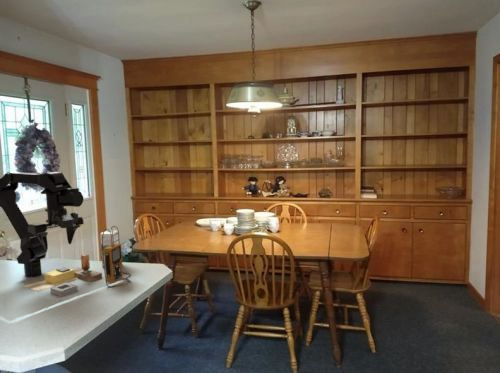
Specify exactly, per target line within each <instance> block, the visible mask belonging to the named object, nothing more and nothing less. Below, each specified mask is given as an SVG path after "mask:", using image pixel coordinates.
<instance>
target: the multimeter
mask: <svg viewBox="0 0 500 373" xmlns="http://www.w3.org/2000/svg"><path fill="white" fill-rule="evenodd" d="M113 228H116V231H118V239H119V240H120V231H119V229H118V227H117V226H115V225H113V226H111V230H110V229H104V231H102V232H103V234H104V232H105V231H112V235H111V245H110V246H108V247H106V248H104V253H103V261H104V256H105V263H104V267H103V269H104V272H105V273H104V278H105V279H104V280H105V285H106V287H108V288H114V287H120V286H123V285H124V284H128V282H129V283H132V280H130V279H129V278H130V277H131V275H132V274H131V273H128V272H124V271H123V253H122V252H123V251H122V243H120V241H119V244H114V238H112V237H113V231H114V230H113ZM110 233H111V232H110ZM112 240H113V241H112ZM102 250H103V236H102ZM124 274H126V275H128V276H127V277H125V279H126V280H127V281H128V282H122V283H119V284H115V281H116V280H117V279H119V278H123V277H124ZM107 282H111V283H112V284H115V285H111V286H110V285H109V284H108V283H107Z"/></svg>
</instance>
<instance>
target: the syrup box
mask: <svg viewBox="0 0 500 373" xmlns="http://www.w3.org/2000/svg"><path fill="white" fill-rule="evenodd" d="M104 231H105V230H104ZM104 231H102V232H101V233H99V237H100V251H101V261H102V262H101V263H102V268H104V263H105V256H104V261H103V253H104V248H106V247H108V246H110V245H111V235H112V231H113V237H112V238H114V244H119V242H120V238H119V239H118V231H119V230H110V231H108V230H106V231H105V232H104ZM103 232H104V234H103ZM110 232H111V233H110ZM102 236H103V250H102ZM112 241H113V240H112Z"/></svg>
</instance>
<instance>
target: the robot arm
mask: <svg viewBox="0 0 500 373" xmlns="http://www.w3.org/2000/svg"><path fill="white" fill-rule="evenodd" d="M19 184H29V185H38V186H39V187H41V188H44V189H43V190H41V192H40V194H41V195H45V198H46V199H45V200H46V208H45V209H44V211H45V212H46V213H47V215H46V216H47V219H45V222H46V223H44V222H33V223H29V222H28V221H27V219H26V217H25V216H24V214H23V212H22V211H21V209H20V207H19V206H18V203H17V193H16V190H18V188H19ZM83 202H84V195H83V193H82V192H81V191H80V188H78V187H72V186H71V184H70V183H69V181H68V180H67V179H66V177H65V175H64V174H63V172H61V171H53V172H45V173H32V172H19V171H10V172H9V171H8V172H6V173H4V175H2V177H1V178H0V208H1V209H2V210H3V212H4V214H5V215H6V217H7V219H8V221H9V222H10V224H11V226H12V227H13V229H14V231H15V233H16V234H17V236H18V238H19V239H20V250H21V253H20V254H18V256H17V257H16V260H17V263H18V264H19V265H23V269H24V270H23V271H24V277H26V278H36V277H40V276H42V262H41V260H42V259H45V258H46V256H47V252H48V248H49V246H48V244H49V243H48V238H47V236H48V234H49V232H47V230H48V229H52V228H57V227H59V228H61V229H65V232H66V238H67V242H68V244H69V245H72V242H73V238H74V235H75V233H76V231H77V229H79V228H80V227H82V226H81V225H84V223H85V222H84V219H83V217H82V216H79V214H78V212H70V213H68V210H67V208H66V207H73V208H74V207H77V208H79V207H81V206H82V205H83Z"/></svg>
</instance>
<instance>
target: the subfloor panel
mask: <svg viewBox="0 0 500 373" xmlns="http://www.w3.org/2000/svg"><path fill="white" fill-rule="evenodd" d="M77 279H79V278H77V277H75V278H72V279H69V280H66V281H63V282H59V283H56V284H52V283H49V282H46V281H45V279H43V280H39V281H35V282H32V283H29V284H25V285H24V287H25V288H28V289H30V290H33V291H36V292H42V291H45V290H47V289H50V288H52V287H55V286H58V285H61V284H64V283H70V282H71V281H75V280H77Z"/></svg>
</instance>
